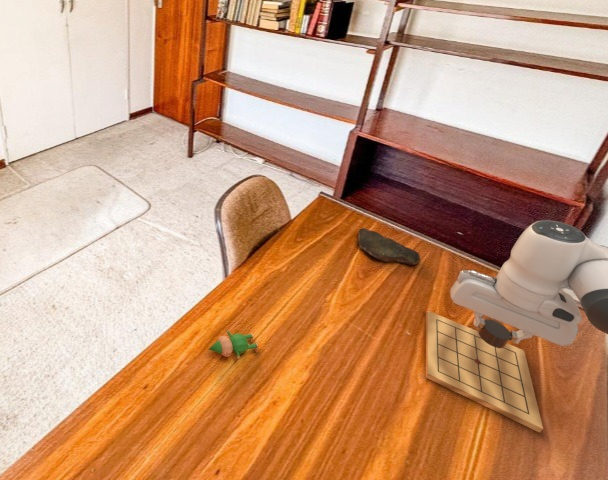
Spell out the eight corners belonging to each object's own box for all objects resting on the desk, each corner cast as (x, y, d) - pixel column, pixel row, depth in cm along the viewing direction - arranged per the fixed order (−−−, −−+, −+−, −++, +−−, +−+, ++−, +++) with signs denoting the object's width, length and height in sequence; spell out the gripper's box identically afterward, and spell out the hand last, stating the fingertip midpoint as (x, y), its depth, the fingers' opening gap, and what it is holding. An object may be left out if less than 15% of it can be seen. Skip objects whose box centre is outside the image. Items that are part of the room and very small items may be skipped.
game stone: (503, 335, 90) (509, 326, 88) (507, 352, 86) (513, 343, 85) (476, 324, 92) (481, 315, 91) (478, 340, 88) (484, 331, 87)
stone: (419, 258, 124) (422, 251, 123) (412, 279, 116) (415, 271, 115) (359, 232, 134) (361, 225, 133) (349, 250, 126) (351, 243, 125)
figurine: (259, 360, 93) (211, 369, 90) (247, 333, 99) (201, 341, 96) (263, 347, 91) (214, 357, 88) (250, 321, 97) (204, 329, 94)
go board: (521, 354, 96) (524, 350, 95) (539, 433, 81) (543, 428, 80) (425, 314, 105) (427, 310, 105) (425, 377, 90) (428, 373, 89)
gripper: (463, 276, 85) (440, 319, 91) (593, 324, 75) (558, 369, 81) (461, 257, 89) (439, 300, 95) (583, 300, 80) (550, 345, 86)
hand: (495, 332), depth 88 cm, fingers closed on game stone, 5 cm apart
